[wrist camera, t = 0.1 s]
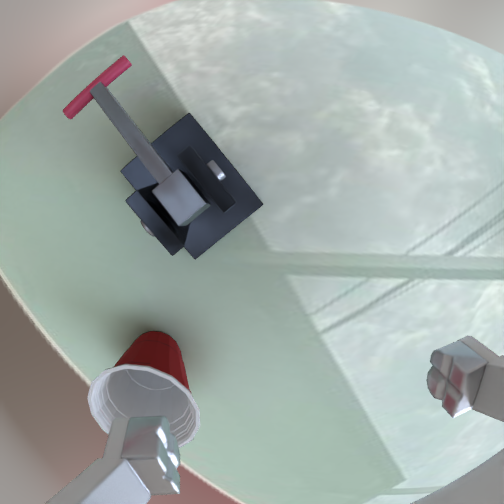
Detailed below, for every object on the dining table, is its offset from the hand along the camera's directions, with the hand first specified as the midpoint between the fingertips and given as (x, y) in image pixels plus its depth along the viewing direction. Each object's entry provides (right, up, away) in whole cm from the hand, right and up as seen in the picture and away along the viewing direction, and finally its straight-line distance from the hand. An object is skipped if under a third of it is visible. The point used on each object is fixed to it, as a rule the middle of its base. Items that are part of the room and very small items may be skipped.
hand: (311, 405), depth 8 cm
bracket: (-8, +11, +24) cm, 28 cm away
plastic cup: (-13, -7, +29) cm, 32 cm away
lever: (-9, +12, +12) cm, 20 cm away
